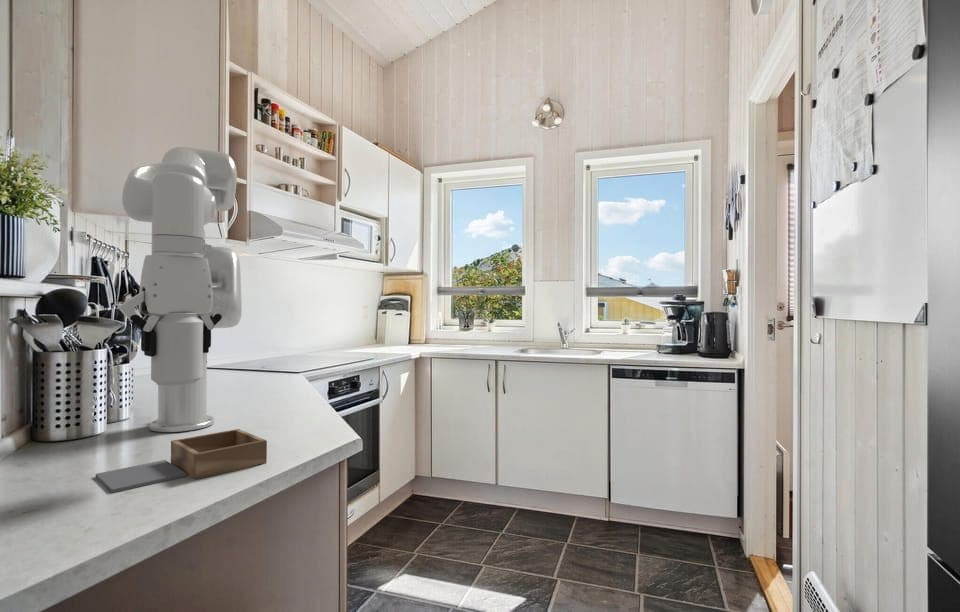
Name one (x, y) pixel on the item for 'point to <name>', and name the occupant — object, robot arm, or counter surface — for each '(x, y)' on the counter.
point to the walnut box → (218, 453)
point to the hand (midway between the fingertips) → (177, 353)
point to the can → (178, 349)
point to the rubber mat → (139, 475)
